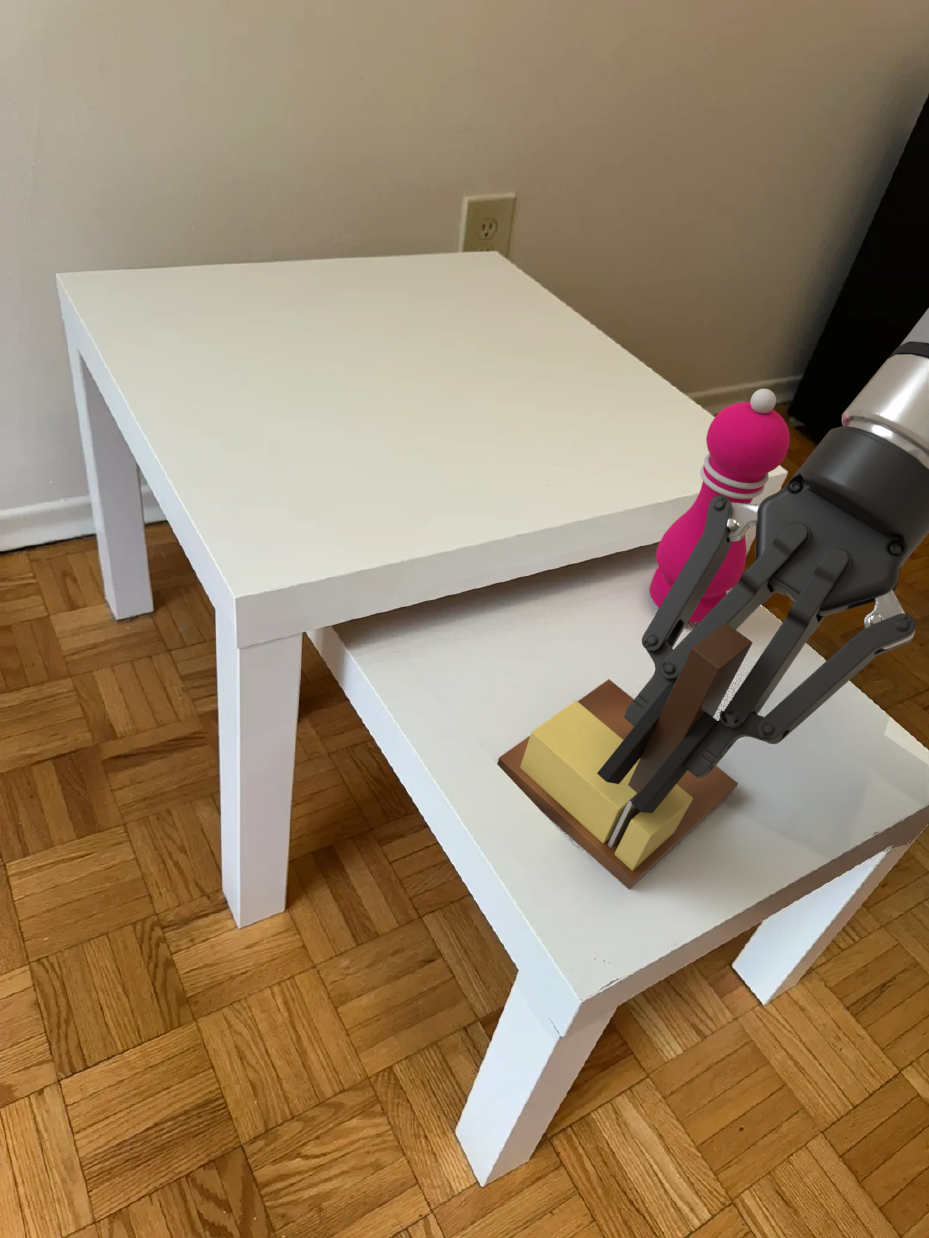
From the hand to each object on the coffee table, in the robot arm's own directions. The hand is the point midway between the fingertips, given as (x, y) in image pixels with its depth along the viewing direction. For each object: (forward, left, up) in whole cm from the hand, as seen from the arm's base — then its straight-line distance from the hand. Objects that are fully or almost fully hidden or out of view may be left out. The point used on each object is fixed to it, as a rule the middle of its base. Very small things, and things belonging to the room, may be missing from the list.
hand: (625, 793), depth 53 cm
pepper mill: (+12, -27, -9) cm, 31 cm away
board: (+3, -7, -9) cm, 12 cm away
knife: (0, -4, -7) cm, 8 cm away
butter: (+3, -4, -8) cm, 9 cm away
